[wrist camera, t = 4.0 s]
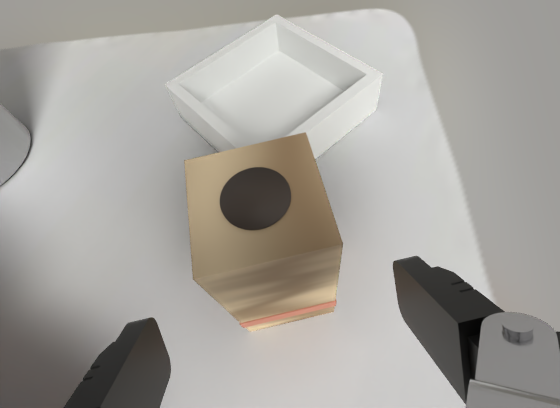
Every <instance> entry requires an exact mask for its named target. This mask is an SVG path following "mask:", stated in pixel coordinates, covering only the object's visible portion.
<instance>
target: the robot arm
mask: <svg viewBox="0 0 560 408" xmlns="http://www.w3.org/2000/svg"><path fill="white" fill-rule="evenodd" d="M30 141H31V138H30V133H29V131H28V129H27V128H26V126H25V125H24V124H22V123H21V122H20V121H19V120H18V119H17V118H16V117H15V116H14V115H13V114H12V113H10V112H9V111H8V110H7V109H6V108H5V107H4V106H3V105H2V104H1V103H0V185H2V184H3V183H4V182H5V181H6V180H8V179H9V178H10V177H11V176H12V175H13V174H14V173H15V172H16V170H17V169H18V168H19V167H20V166H21V164H22V163H23V161H24V159H25V158H26V156H27V153H28V151H29V148H30ZM393 271H394V278H395V285H396V292H397V298H398V305H399V308H400V312H401V314H402V317H403V319H404V321H405V322H406V324H407V325H408V327H409V328H410V329H411V331H412V332H413V333H414V335H415V336H416V337H417V339H418V340H419V341H420V343H421V344H422V346H423V347H424V348H425V350H426V351H427V352H428V354H429V355H430V356H431V358H432V359H433V361H434V362H435V363H436V365H437V366H438V367H439V369H440V370H441V371H442V373H443V374H444V375H445V377H446V378H447V380H448V381H449V382H450V384H451V385H452V386H453V388H454V389H455V390H456V392H457V393H458V395H459V396H460V397H461V399H462V400H463V401H464V403H465V404H466V408H560V332H555V330H554V329H553V328H552V327H551V326H550V325H548V324H547V323H546V322H544V321H542V320H540V319H538V318H536V317H533V316H530V315H527V314H522V313H515V312H504V311H503V310H502V309H500V308H499V307H498V306H496V305H495V304H494V303H493V302H491V301H490V300H489V299H487V298H486V297H485V296H484V295H482V294H481V293H480V292H478V291H477V290H476V289H475V290H474V289H473V287H472V286H471V285H469V284H468V283H467V282H464V280H463V279H461V278H460V277H459V276H458V275H456V274H455V273H454V272H451V271H449V270H446V269H443V268H440V267H434V268H431V267H430V266H429V265H428V264H426V263H425V262H424V261H423V260H422V259H421V258H419V257H418V256H413V257H409V258H405V259H400V260H396V261H394V262H393ZM170 373H171V365H170V358H169V355H168V352H167V350H166V347H165V344H164V341H163V338H162V336H161V333H160V330H159V327H158V325H157V322H156V320H155V319H154V318H147V319H142V320H138V321H134V322H130V323H128V324H127V325H126V326H125V328H124V329H123V331H122V332H121V334H120V336H119V337H118V339H117V340H116V342H113V343H112V344H111V345H109V346H108V347H107V348H106V349H105V350H104V351H103V352H102V353H101V354H100V355H99V356H98V357H97V359H96V360H95V362H94V363H93V365H92V366H91V370H89V371H88V372H87V374H86V375H85V377H84V378H83V381H82V382H80V384H79V385H78V387H77V388H76V390H75V391H74V393H73V394H72V396H71V397H70V399H69V400H68V402H67V403H66V405H65V406H64V408H160V405H161V402H162V399H163V396H164V393H165V390H166V387H167V384H168V381H169V378H170Z"/></svg>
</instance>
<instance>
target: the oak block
mask: <svg viewBox="0 0 560 408" xmlns="http://www.w3.org/2000/svg"><path fill="white" fill-rule="evenodd" d="M184 163H185V177H186V190H187V204H188V217H189V231H190V245H191V258H192V272H193V280H194V281H195V282H197V283H198V284H199V285H200V286H201V287H202V288H203V289H204V290H205V291H206V292H207V293H208V294H210V295H211V296H212V297H213V298H214V299H215V300H216V301H217V302H218V303H219V304H220V305H222V306H223V307H224V308H225V309H226V310H227V311H228V312H229V313H230V314H231V315H232V316H233V317H235V318H236V319H237V320H238V321H239V322H240V325H241V326H242V327H243V328H246V329H248V330H249V331H250V332H251V331H255V330H259V329H264V328H268V327H272V326H276V325H280V324H285V323H289V322H293V321H297V320H301V319H305V318H310V317H314V316H318V315H322V314H326V313H331V312H334V306H336V291H337V284H338V276H339V269H340V262H341V254H342V247H343V243H342V240H341V237H340V234H339V231H338V228H337V224H336V221H335V218H334V215H333V212H332V209H331V206H330V203H329V200H328V197H327V194H326V191H325V188H324V185H323V182H322V179H321V176H320V173H319V170H318V167H317V164H316V161H315V158H314V155H313V152H312V149H311V146H310V143H309V140H308V137H307V134H306V132H304V133H300V134H296V135H291V136H287V137H283V138H279V139H274V140H270V141H266V142H261V143H257V144H253V145H248V146H244V147H240V148H236V149H231V150H227V151H223V152H218V153H214V154H210V155H206V156H201V157H197V158H193V159H188V160H184Z"/></svg>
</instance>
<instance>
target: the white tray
mask: <svg viewBox="0 0 560 408" xmlns="http://www.w3.org/2000/svg"><path fill="white" fill-rule="evenodd" d="M382 78H383V73H381V72H380V71H378V70H376V69H374V68H372V67H371V66H369V65H367V64H365V63H363V62H362V61H360V60H358V59H356V58H354V57H353V56H351V55H349V54H347V53H345V52H344V51H342V50H340V49H338V48H336V47H335V46H333V45H331V44H329V43H327V42H326V41H324V40H322V39H320V38H318V37H317V36H315V35H313V34H311V33H309V32H308V31H306V30H304V29H302V28H300V27H298V26H297V25H295V24H293V23H291V22H289V21H288V20H286V19H284V18H282V17H280V16H279V15H274V16H273V17H271V18H270V19H268V20H266V21H265V22H263V23H262V24H260V25H258V26H257V27H255V28H254V29H252V30H250V31H249V32H247V33H246V34H244V35H242V36H241V37H239V38H238V39H236V40H234V41H233V42H231V43H230V44H228V45H226V46H225V47H223V48H222V49H220V50H218V51H217V52H215V53H214V54H212V55H210V56H209V57H207V58H206V59H204V60H202V61H201V62H199V63H198V64H196V65H195V66H193V67H191V68H190V69H188V70H187V71H185V72H183V73H182V74H180V75H179V76H177V77H175V78H174V79H172V80H171V81H169V82H167V83H166V84H165V86H166V88H167V90H168V92H169V94H170V96H171V98H172V100H173V102H174V104H175V106H176V108H177V110H178V112H179V114H180V116H181V118H182V119H183V120H185V121H186V122H187V123H188V124H189V125H190V126H191V127H192V128H193V129H194V130H195V131H196V132H197V133H198V134H200V135H201V136H202V137H203V138H204V139H205V140H206V141H207V142H208V143H209V144H210V145H211V146H212V147H213V148H214V149H216V150H217V151H218V152H223V151H227V150H231V149H236V148H240V147H244V146H248V145H253V144H257V143H261V142H266V141H270V140H274V139H279V138H283V137H287V136H291V135H296V134H300V133H304V132H306V134H307V137H308V140H309V143H310V146H311V149H312V152H313V155H314V158H315V159H317V158H318V157H319V156H320V155H321V154H323V153H324V152H325V151H326V150H328V149H329V148H330V147H331V146H333V145H334V144H335V143H336V142H337V141H339V140H340V139H341V138H342V137H344V136H345V135H346V134H347V133H349V132H350V131H351V130H352V129H353V128H355V127H356V126H357V125H358V124H360V123H361V122H362V121H363V120H365V119H366V118H367V117H368V116H369V115H371V114H372V113H373V112H374V111H376V109H377V104H378V99H379V94H380V88H381V83H382Z"/></svg>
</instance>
